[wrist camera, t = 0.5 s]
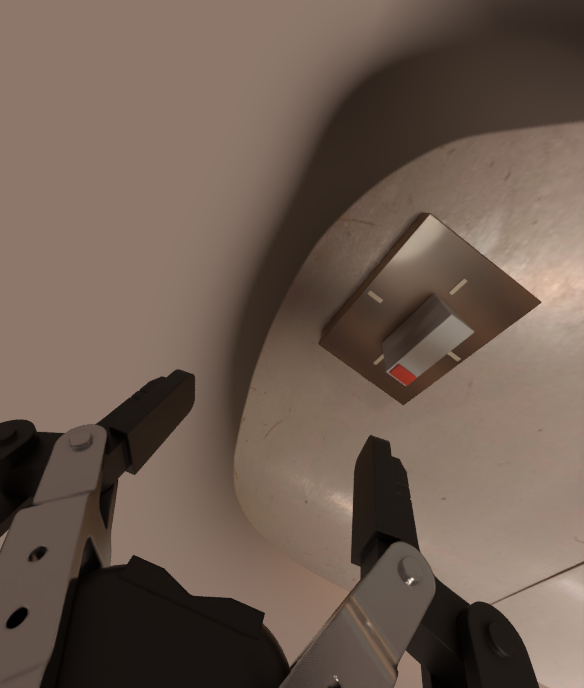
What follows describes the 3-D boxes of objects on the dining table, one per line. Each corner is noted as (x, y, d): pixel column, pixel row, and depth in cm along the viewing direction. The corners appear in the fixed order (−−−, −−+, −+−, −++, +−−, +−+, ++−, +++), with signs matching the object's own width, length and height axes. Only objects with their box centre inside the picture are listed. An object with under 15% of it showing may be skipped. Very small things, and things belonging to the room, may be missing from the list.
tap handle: (433, 292, 21) (453, 315, 16) (452, 307, 21) (476, 333, 16) (381, 343, 24) (385, 373, 19) (398, 355, 24) (406, 388, 19)
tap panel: (422, 212, 21) (431, 212, 18) (521, 291, 22) (543, 303, 19) (322, 331, 28) (317, 344, 25) (399, 388, 29) (403, 406, 26)
